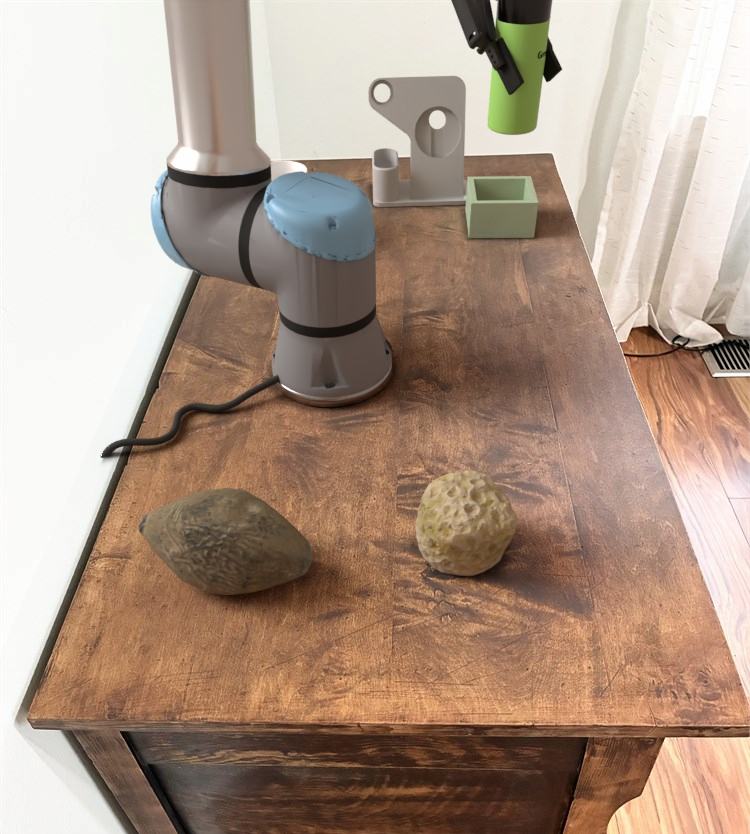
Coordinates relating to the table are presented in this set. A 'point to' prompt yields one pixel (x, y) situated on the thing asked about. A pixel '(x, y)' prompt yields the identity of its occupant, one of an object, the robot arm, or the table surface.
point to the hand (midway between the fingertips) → (535, 82)
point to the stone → (227, 542)
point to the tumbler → (520, 65)
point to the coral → (464, 523)
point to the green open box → (501, 207)
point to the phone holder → (422, 142)
